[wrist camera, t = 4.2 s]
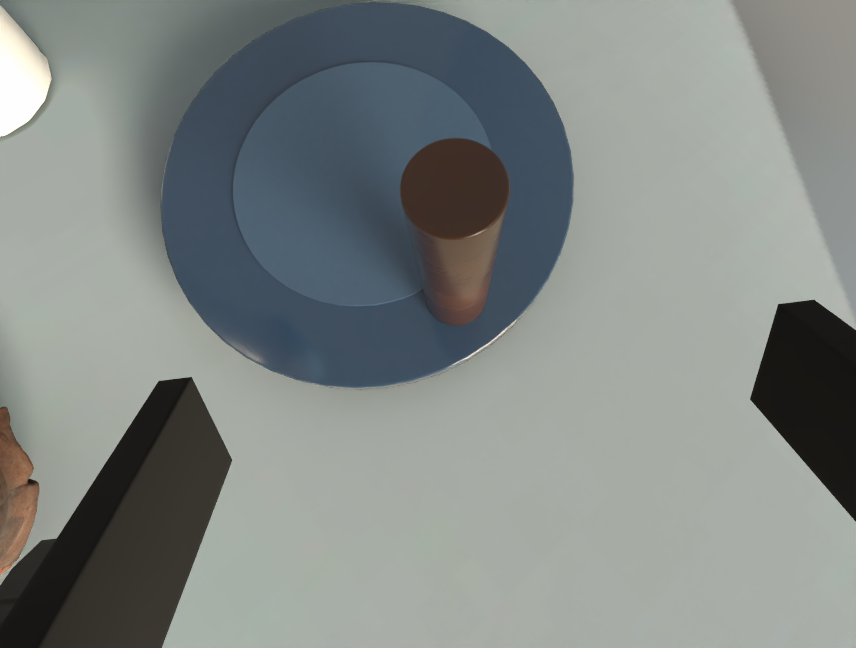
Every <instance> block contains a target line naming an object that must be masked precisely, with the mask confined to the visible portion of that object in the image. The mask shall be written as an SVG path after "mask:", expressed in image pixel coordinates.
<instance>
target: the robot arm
mask: <svg viewBox="0 0 856 648" xmlns="http://www.w3.org/2000/svg"><path fill="white" fill-rule="evenodd" d="M750 400H751V401H752V402H753V403H754V404H755V405H756V407H757V408H758V409H759V410H760V411H761V412H762V413H763V415H764V416H765V417H766V418H767V419H768V420H769V422H770V423H771V424H772V425H773V426H774V427H775V429H776V430H777V431H778V432H779V433H780V434H781V435H782V437H783V438H784V439H785V440H786V441H787V442H788V444H789V445H790V446H791V447H792V448H793V449H794V451H795V452H796V453H797V454H798V455H799V456H800V457H801V459H802V460H803V461H804V462H805V463H806V464H807V466H808V467H809V468H810V469H811V470H812V471H813V473H814V474H815V475H816V476H817V477H818V478H819V479H820V481H821V482H822V483H823V484H824V485H825V486H826V488H827V489H828V490H829V491H830V492H831V493H832V495H833V496H834V497H835V498H836V499H837V500H838V501H839V503H840V504H841V505H842V506H843V507H844V508H845V510H846V511H847V512H848V513H849V514H850V515H851V517H852V518H853V519H854V520H855V521H856V330H855V329H853V328H852V327H851V326H849V325H848V324H846V323H845V322H844V321H842V320H841V319H840V318H838V317H837V316H836V315H834V314H833V313H831V312H830V311H829V310H827V309H826V308H825V307H823V306H822V305H821V304H819V303H818V302H816V301H815V300H809V301H801V302H793V303H785V304H778V307H777V311H776V314H775V317H774V321H773V324H772V328H771V331H770V334H769V338H768V341H767V344H766V348H765V351H764V354H763V358H762V361H761V364H760V368H759V371H758V375H757V378H756V381H755V385H754V388H753V391H752V395H751V398H750ZM231 462H232V459H231V457H230V455H229V453H228V451H227V449H226V446H225V444H224V442H223V440H222V438H221V436H220V434H219V432H218V430H217V428H216V426H215V424H214V422H213V420H212V418H211V416H210V414H209V412H208V410H207V408H206V406H205V404H204V402H203V400H202V398H201V395H200V393H199V391H198V389H197V387H196V385H195V383H194V381H193V379H192V377H189V378H181V379H172V380H164V381H159V382H158V383H157V385H156V386H155V388H154V389H153V391H152V392H151V394H150V395H149V397H148V399H147V400H146V402H145V403H144V405H143V406H142V408H141V409H140V411H139V413H138V414H137V416H136V417H135V419H134V420H133V422H132V423H131V425H130V426H129V428H128V430H127V431H126V433H125V434H124V436H123V437H122V439H121V440H120V442H119V443H118V445H117V447H116V448H115V450H114V451H113V453H112V454H111V456H110V457H109V459H108V460H107V462H106V464H105V465H104V467H103V468H102V470H101V471H100V473H99V474H98V476H97V477H96V479H95V481H94V482H93V484H92V485H91V487H90V488H89V490H88V491H87V493H86V494H85V496H84V498H83V499H82V501H81V502H80V504H79V505H78V507H77V508H76V510H75V511H74V513H73V515H72V516H71V518H70V519H69V521H68V522H67V524H66V525H65V527H64V529H63V530H62V532H61V533H60V535H59V536H58V538H57V539H50V540H42V541H41V542H40V543H39V544H38V545H36V546H35V547H34V548H33V549H32V550H31V551H30V552H29V553H28V554H27V555H26V556H25V557H24V558H23V559H22V560H21V561H20V562H19V563H18V564H17V565H16V566H14V567H13V568H12V570H11V571H10V572H9V574H8V575H7V577H6V578H5V580H4V581H3V583H2V584H1V585H0V648H162V645H163V643H164V640H165V637H166V635H167V632H168V629H169V627H170V624H171V621H172V619H173V616H174V613H175V611H176V608H177V606H178V603H179V600H180V598H181V595H182V592H183V590H184V587H185V584H186V582H187V579H188V576H189V574H190V571H191V568H192V566H193V563H194V560H195V558H196V555H197V552H198V550H199V547H200V544H201V542H202V539H203V536H204V534H205V531H206V528H207V526H208V523H209V520H210V518H211V515H212V512H213V510H214V507H215V504H216V502H217V499H218V497H219V494H220V491H221V489H222V486H223V483H224V481H225V478H226V475H227V473H228V470H229V467H230V465H231Z"/></svg>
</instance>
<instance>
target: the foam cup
mask: <svg viewBox="0 0 856 648" xmlns="http://www.w3.org/2000/svg"><path fill="white" fill-rule="evenodd" d="M50 82H51V73H50V69H49V64H48V60H47V58H46V57H45V56H44V55H43V54H42V53H41V52H40V51H39V48H38V47H37V46H36V45H35V44H34V42H33V41H32V40H31V39H30V38H29V37H28V36H27V34H26V33H25V32H24V31H23V30H22V29H21V28H20V27H19V25H18V24H17V23H16V22H15V21H14V20H13V19H12V17H11V16H10V15H9V14H8V13H7V12H6V11H5V9H4V8H3V7H2V6H1V5H0V136H4V135H7V134H9V133H10V132H12V131H13V130H15V129H17V128H18V127H20V126H21V125H23V124H25V123H26V122H28V121H29V120H30V119H31V117H32V116H33V115H34V114H35V112H36V111H37V110H38V109H39V107H40V106H41V105H42V104H43V102H44V101H45V99H46V95H47V92H48V89H49V85H50Z"/></svg>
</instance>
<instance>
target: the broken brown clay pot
mask: <svg viewBox="0 0 856 648" xmlns="http://www.w3.org/2000/svg"><path fill="white" fill-rule="evenodd" d="M33 469H34V467H33V464H32V462H31V461H30V459H29V457H28V455H27V454H26V453H25V452H24V451H23V450H22V448H21V446H20V445H19V444H18V442H17V441H16V439H15V437H14V435H13V432H12V429H11V426H10V415H9V412H8V409H7V408H6V407H2V408H0V574H2V573H3V572H4V571H6V570H7V569H8V568H10V567H11V566H12V564H13V563H14V562H15V561H16V560H17V559H18V558H19V556H20V553H21V551H22V550H23V548H24V546H25V544H26V541H27V539H28V536H29V534H30V531H31V528H32V525H33V522H34V519H35V514H36V511H37V501H38V495H39V484H38V482H37V481H35V480H31V479H29V477H30V475H31V474H32V472H33Z"/></svg>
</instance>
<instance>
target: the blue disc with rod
mask: <svg viewBox="0 0 856 648" xmlns="http://www.w3.org/2000/svg"><path fill="white" fill-rule="evenodd" d="M573 186H574V174H573V166H572V158H571V150H570V147H569V143H568V139H567V136H566V132H565V128H564V125H563V123H562V121H561V118H560V116H559V114H558V111H557V109H556V107H555V105H554V103H553V101H552V99H551V98H550V96H549V94H548V93H547V91H546V89H545V88H544V86H543V85H542V83H541V82H540V80H539V79H538V78H537V77H536V75H535V74H534V73H533V72H532V71H531V69H530V68H529V67H528V66H527V64H526V63H525V62H524V61H523V60H521V59H520V58H519V57H518V56H517V55H516V54H515V53H514V52H513V51H512V50H511V49H510V48H509V47H507V46H506V45H505V44H503V43H502V42H500V41H499V40H498V39H496V38H495V37H493V36H492V35H490V34H489V33H488V32H486V31H484V30H482V29H480V28H478V27H476V26H475V25H473V24H471V23H469V22H467V21H465V20H462V19H460V18H457V17H454V16H452V15H449V14H447V13H444V12H441V11H437V10H433V9H429V8H425V7H421V6H415V5H407V4H400V3H374V2H369V3H359V4H348V5H342V6H337V7H332V8H327V9H322V10H319V11H316V12H313V13H310V14H306V15H303V16H300V17H297V18H295V19H293V20H291V21H288V22H286V23H284V24H282V25H279V26H277V27H275V28H273V29H271V30H270V31H268V32H266V33H265V34H263V35H261V36H260V37H258V38H256V39H255V40H253V41H252V42H250V43H249V44H248V45H246V46H245V47H244V48H242V49H241V50H240V51H238V52H237V53H236V54H234V55H233V56H232V57H231V58H230V59H229V60H228V61H227V62H226V63H225V64H224V65H222V66H221V67H220V68H219V69H218V70H217V71H216V72H215V73H214V74H213V76H212V77H211V78H210V79H209V80H208V82H207V83H206V84H205V85H204V86H203V88H202V89H201V90H200V91H199V92H198V94H197V96H196V97H195V99H194V100H193V102H192V103H191V105H190V106H189V108H188V109H187V111H186V113H185V115H184V117H183V119H182V121H181V123H180V125H179V127H178V129H177V131H176V133H175V135H174V138H173V141H172V144H171V147H170V150H169V153H168V156H167V160H166V165H165V170H164V175H163V180H162V191H161V220H162V232H163V236H164V241H165V245H166V250H167V254H168V258H169V260H170V263H171V266H172V268H173V271H174V274H175V276H176V279H177V281H178V283H179V285H180V286H181V288H182V290H183V292H184V294H185V295H186V297H187V299H188V301H189V303H190V304H191V305H192V307H193V308H194V309H195V310H196V312H197V313H198V314H199V316H200V317H201V318H202V320H203V321H204V322H205V323H206V324H207V325H208V326H209V327H210V328H211V329H212V330H213V331H214V332H215V333H216V334H217V335H218V336H219V337H220V338H221V339H222V340H223V341H224V342H225V343H227V344H228V345H229V346H231V347H232V348H234V349H235V350H236V351H238V352H239V353H240V354H242V355H243V356H245V357H246V358H248V359H250V360H252V361H253V362H255V363H257V364H259V365H261V366H263V367H265V368H267V369H269V370H271V371H273V372H276V373H279V374H282V375H284V376H287V377H290V378H293V379H295V380H298V381H302V382H306V383H311V384H315V385H320V386H325V387H330V388H342V389H356V390H361V389H378V388H389V387H394V386H399V385H405V384H410V383H415V382H418V381H421V380H424V379H427V378H430V377H433V376H436V375H439V374H442V373H444V372H446V371H448V370H450V369H452V368H454V367H456V366H458V365H460V364H462V363H464V362H466V361H468V360H470V359H471V358H473V357H474V356H476V355H477V354H479V353H480V352H482V351H483V350H485V349H486V348H488V347H489V346H491V345H492V344H493V343H494V342H496V341H497V340H498V339H499V338H500V337H501V336H503V335H504V334H505V333H506V332H507V331H508V330H509V329H511V328H512V327H513V326H514V324H515V323H516V322H517V321H518V320H519V319H520V318H521V317H522V315H523V314H524V313H525V312H526V311H527V310H528V309H529V307H530V306H531V305H532V303H533V302H534V300H535V299H536V297H537V296H538V294H539V293H540V291H541V290H542V288H543V287H544V285H545V284H546V282H547V280H548V279H549V277H550V275H551V273H552V271H553V268H554V266H555V264H556V262H557V260H558V258H559V256H560V254H561V251H562V248H563V245H564V241H565V238H566V235H567V232H568V229H569V224H570V218H571V212H572V206H573Z"/></svg>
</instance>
